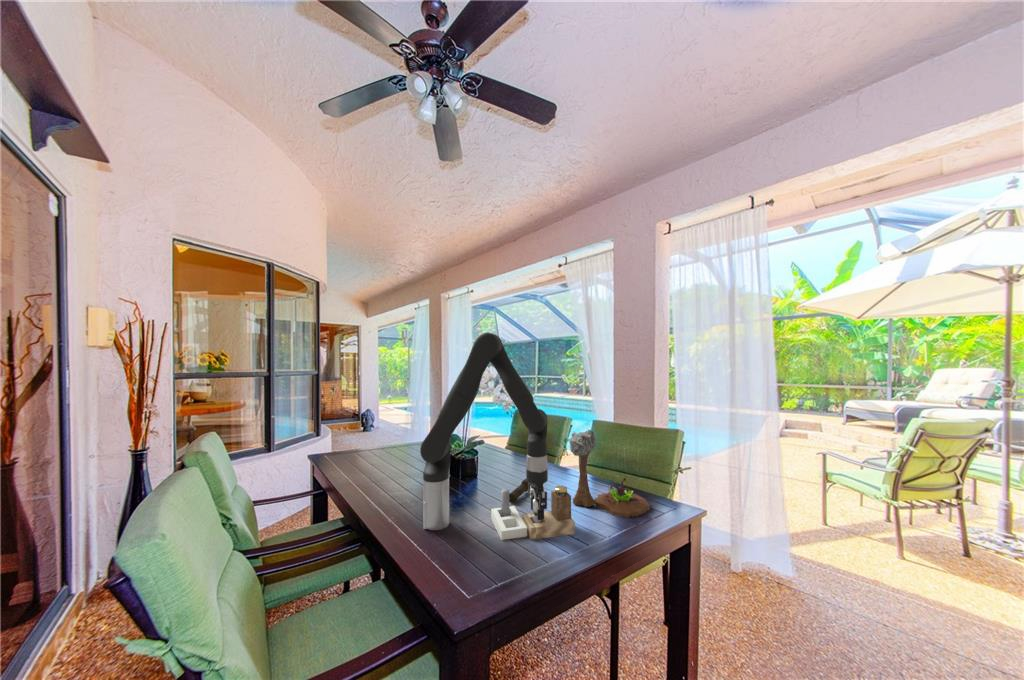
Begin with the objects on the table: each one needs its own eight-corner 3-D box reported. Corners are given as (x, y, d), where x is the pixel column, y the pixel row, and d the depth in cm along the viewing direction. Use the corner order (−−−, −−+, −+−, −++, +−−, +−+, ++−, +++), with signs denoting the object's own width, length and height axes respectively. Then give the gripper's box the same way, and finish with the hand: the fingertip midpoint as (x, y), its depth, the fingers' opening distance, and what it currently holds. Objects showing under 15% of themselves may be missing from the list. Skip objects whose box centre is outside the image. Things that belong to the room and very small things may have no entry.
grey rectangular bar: (534, 536, 126) (534, 501, 126) (532, 532, 129) (531, 498, 129) (542, 535, 127) (542, 500, 127) (540, 531, 130) (539, 497, 130)
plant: (659, 510, 146) (658, 482, 146) (624, 523, 136) (624, 492, 136) (621, 492, 163) (620, 467, 163) (587, 502, 153) (587, 476, 153)
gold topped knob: (557, 511, 127) (557, 491, 127) (553, 505, 132) (552, 486, 132) (569, 509, 129) (569, 489, 129) (564, 504, 133) (564, 485, 133)
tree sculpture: (594, 513, 142) (593, 437, 142) (568, 510, 145) (567, 435, 146) (597, 498, 156) (597, 428, 156) (574, 495, 160) (573, 426, 160)
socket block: (530, 543, 122) (530, 504, 122) (522, 528, 132) (522, 492, 132) (574, 536, 126) (574, 498, 126) (563, 522, 136) (563, 487, 136)
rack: (501, 543, 122) (501, 507, 122) (491, 519, 138) (491, 487, 138) (527, 539, 124) (526, 504, 124) (514, 516, 141) (514, 485, 141)
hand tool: (515, 504, 150) (515, 492, 150) (506, 502, 152) (506, 491, 152) (534, 488, 167) (534, 478, 167) (526, 486, 169) (526, 476, 169)
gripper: (520, 461, 134) (521, 506, 134) (533, 475, 120) (533, 525, 120) (540, 459, 136) (540, 504, 136) (554, 473, 122) (554, 522, 122)
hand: (537, 514), depth 128 cm, fingers open, 7 cm apart
